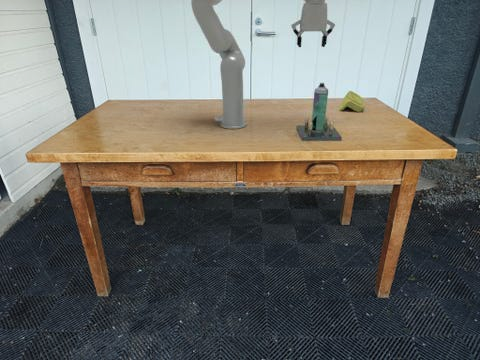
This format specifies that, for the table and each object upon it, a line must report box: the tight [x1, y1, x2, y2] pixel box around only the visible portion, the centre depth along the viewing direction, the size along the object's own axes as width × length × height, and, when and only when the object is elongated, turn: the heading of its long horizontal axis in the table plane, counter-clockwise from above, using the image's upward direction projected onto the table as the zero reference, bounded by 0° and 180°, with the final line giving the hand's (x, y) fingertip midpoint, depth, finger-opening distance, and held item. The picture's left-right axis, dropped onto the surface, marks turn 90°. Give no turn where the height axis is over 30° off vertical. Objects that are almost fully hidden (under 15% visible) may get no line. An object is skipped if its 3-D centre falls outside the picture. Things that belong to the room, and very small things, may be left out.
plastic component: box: [338, 90, 365, 113], centre depth 176 cm, size 20×7×10 cm
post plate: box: [296, 115, 343, 142], centre depth 136 cm, size 16×16×6 cm
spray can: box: [311, 82, 329, 133], centre depth 133 cm, size 6×6×20 cm
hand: (311, 46), depth 131 cm, fingers open, 9 cm apart
